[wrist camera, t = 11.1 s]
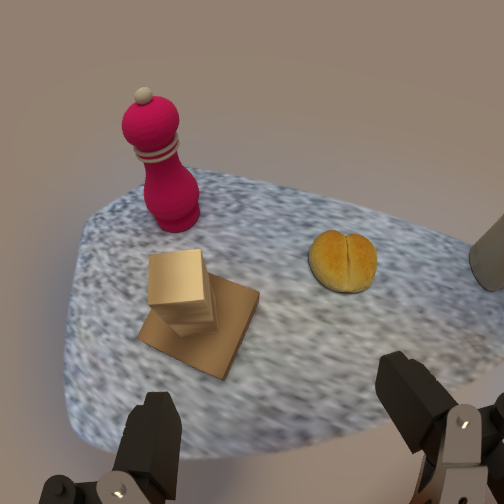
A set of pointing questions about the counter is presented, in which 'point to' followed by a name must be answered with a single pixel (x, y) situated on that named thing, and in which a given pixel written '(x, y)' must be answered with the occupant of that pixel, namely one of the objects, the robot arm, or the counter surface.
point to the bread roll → (343, 261)
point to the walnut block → (210, 345)
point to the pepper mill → (161, 161)
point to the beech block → (182, 292)
